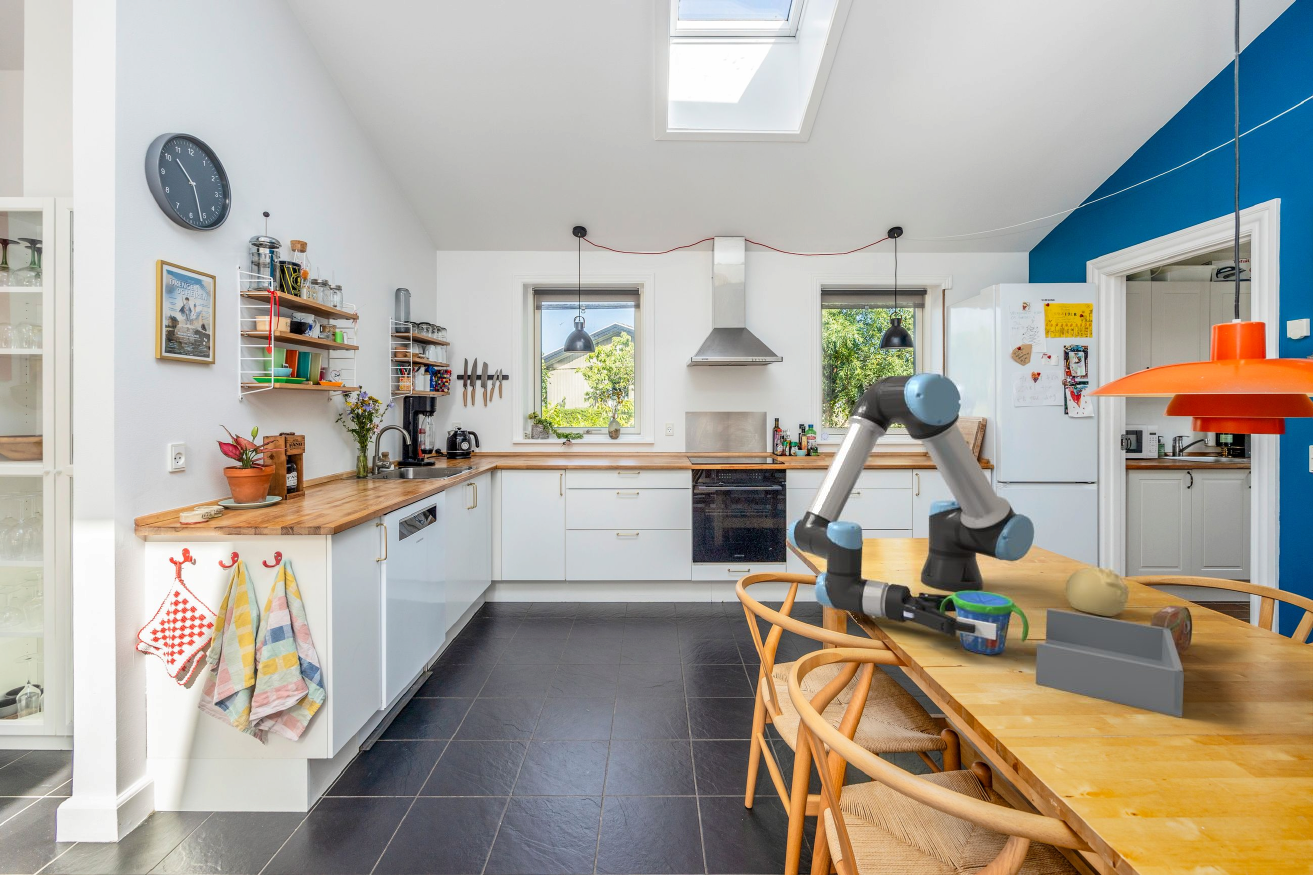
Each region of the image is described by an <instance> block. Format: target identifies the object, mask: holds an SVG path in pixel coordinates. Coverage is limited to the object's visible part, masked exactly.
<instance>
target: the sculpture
mask: <svg viewBox="0 0 1313 875" xmlns="http://www.w3.org/2000/svg"><path fill="white" fill-rule="evenodd" d="M1128 588H1129V586H1128V585H1127V584H1126V583H1125V582H1124V581H1123V578H1122V577H1121V576H1120V575H1118V574H1117V573H1115V572H1114V571H1113V570H1112V569H1109V568H1101V567H1098V566H1095V565H1092V566H1090V567H1088V568H1087V567H1086V568H1081V569H1078V570H1077V571H1073V573H1071V574H1070V576H1069V577H1068V579H1067V581H1066V585H1065V595H1066V598H1067V601H1068V603H1069V605H1070V606H1071V607H1072V608H1073V609H1075V610H1077V611H1081V612H1085V613H1088V614H1094V615H1099V616H1101V617H1102V616H1103V617H1115V616H1116V615H1118V614H1120V613H1122V612H1124V610H1125V609H1126V604H1127V603H1128V599H1129V593H1130V591H1129V589H1128Z"/></svg>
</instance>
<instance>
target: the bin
mask: <svg viewBox="0 0 1313 875" xmlns="http://www.w3.org/2000/svg"><path fill="white" fill-rule="evenodd" d="M1045 627H1046V628H1045V630H1046V631H1045V641H1044V642H1040V641H1037V642H1036V659H1035V660H1036V661H1035V664H1036V665H1035V666H1036V669H1035V684H1036V685H1039V686H1043V687H1048V688H1051V689H1056V690H1060V691H1061V690H1062V691H1065V692H1069V693H1075V694H1078V695H1082V696H1087V697H1091V698H1094V699H1100V700H1103V701H1108V702H1112V703H1117V704H1122V705H1126V706H1129V707H1134V708H1138V709H1143V710H1145V711H1151V712H1156V713H1159V714H1163V715H1166V716H1167V715H1168V716H1172V717H1175V718H1176V717H1177V718H1183V700H1184V679H1185V678H1184V677H1185V672H1184V670H1183V666H1182V663H1181V659H1180V657H1179V654H1178V653H1177V650H1176V647H1175V644H1174V641H1173V638H1172V634H1171V631H1170V629H1168V628H1162V627H1156V626H1150V624H1144V623H1138V622H1133V621H1131V622H1130V621H1127V620H1119V619H1114V618H1108V617H1104V616H1103V617H1102V616H1096V615H1090V614H1084V613H1080V612H1079V613H1078V612H1072V611H1066V610H1060V609H1055V608H1050V607H1049V608H1047V609H1046V626H1045Z"/></svg>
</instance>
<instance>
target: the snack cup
mask: <svg viewBox="0 0 1313 875" xmlns="http://www.w3.org/2000/svg"><path fill="white" fill-rule="evenodd" d="M949 595H950V596H949V597H947V598H946V599H945V600H944V601H943V602H942V604H941V607H940V612H942V613H945V614H946V612H945V605H946V603H947V602H948V601H949V600H950V599H952V600H953V602H954V605H955V609H956V619H957V618H958V617H961V618H966V619H971V620H977V621H982V622H987V623H992V624H996V640H994V639H989V638H984V637H979V636H974V635H969V634H964V633H960V632H958V634H959V641H960V643H961V645H962V647H963V648H964V649H966V650H968V651H970V652H974V653H977V654H978V653H979V654H985V655H988V656H989V655H996V654H1000V653H1001V654H1002V653H1003V652H1004V651H1005V646H1006V640H1007V636H1008V631H1009V624H1010V621H1011V617H1012V616H1011V615H1012V612H1013V613H1016V615H1019V617H1020V619H1021V622H1022V626H1023V627H1022V637H1021V642H1023V643H1024V642H1025V641H1026V639H1027V637H1028V635H1029V632H1030V630H1029V629H1030V628H1029V627H1030V626H1029V620H1028V618H1027V616H1026V615H1025V612H1024V611H1023V610H1022V608H1020V607H1019V606H1017V605H1016V604H1015V603H1014V601H1013V600H1012V599H1011V598H1010V597H1007V596H1005V595H1001V594H997V593H993V592H988V591H982V590H979V591H960V592H957V591H955V593H954V594H949Z"/></svg>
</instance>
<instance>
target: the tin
mask: <svg viewBox="0 0 1313 875" xmlns="http://www.w3.org/2000/svg"><path fill="white" fill-rule="evenodd" d="M1149 625H1150V626H1156V627H1162V628H1168V629H1170V631H1171V634H1172V638H1173V641H1174V644H1175V647H1176V650H1177V653H1178V655H1180V654H1181V653H1183V652H1184V651H1186V650H1187V649H1189V646H1190V645H1191V641H1192V636H1193V619H1192V615H1191V611H1190V610H1189V608H1188V607H1186V606H1180V605H1179V606H1178V605H1168V606H1166V607H1164V608H1162V609H1161V610H1158V611H1156V612H1155V613H1154V614H1153V615H1152V617H1151V620H1150V624H1149Z"/></svg>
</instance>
